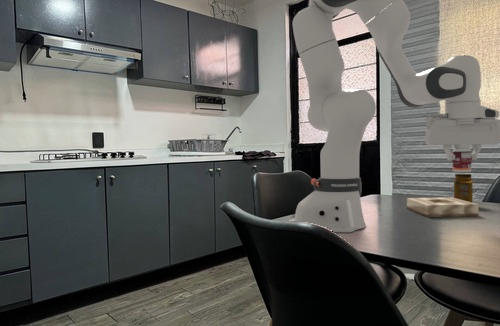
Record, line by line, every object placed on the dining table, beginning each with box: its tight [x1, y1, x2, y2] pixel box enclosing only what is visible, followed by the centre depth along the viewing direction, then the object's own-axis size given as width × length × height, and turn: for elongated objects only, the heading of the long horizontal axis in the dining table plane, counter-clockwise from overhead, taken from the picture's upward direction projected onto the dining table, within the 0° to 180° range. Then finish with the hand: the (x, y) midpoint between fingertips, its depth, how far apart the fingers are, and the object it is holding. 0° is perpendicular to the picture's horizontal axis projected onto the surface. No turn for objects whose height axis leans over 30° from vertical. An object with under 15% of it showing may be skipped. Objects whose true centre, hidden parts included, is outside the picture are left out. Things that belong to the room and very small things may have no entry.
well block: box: [406, 196, 480, 218], centre depth 119 cm, size 16×16×4 cm
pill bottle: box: [452, 143, 473, 173], centre depth 102 cm, size 5×5×8 cm
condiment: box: [453, 173, 474, 203], centre depth 131 cm, size 7×8×12 cm
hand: (461, 160), depth 102 cm, fingers closed on pill bottle, 5 cm apart
